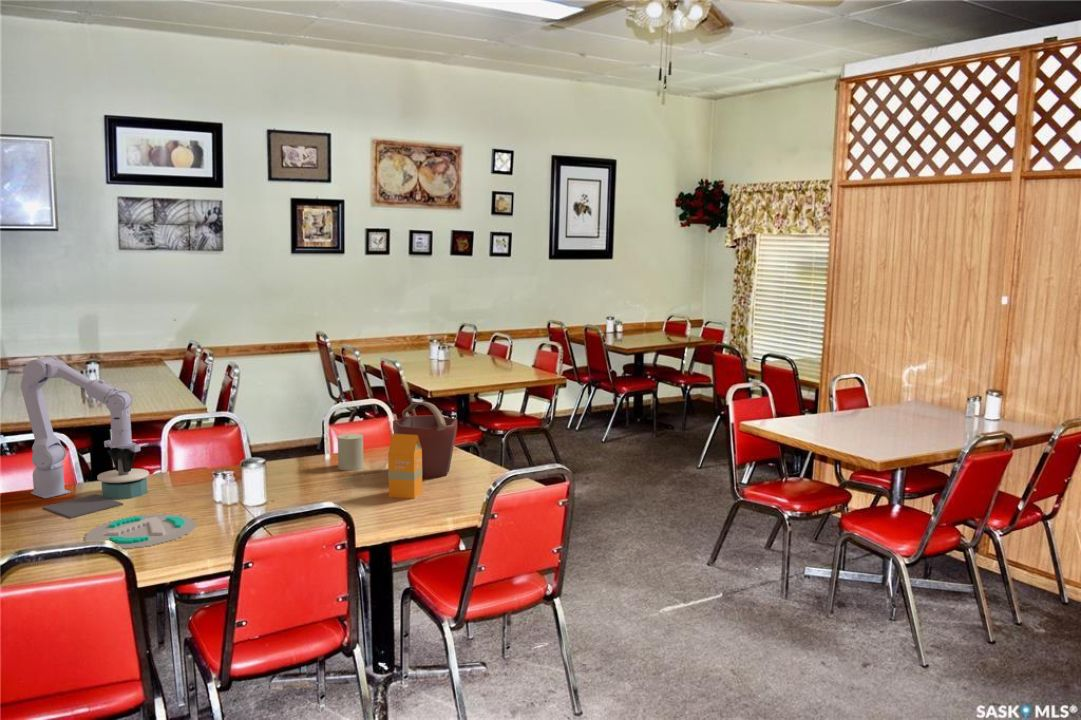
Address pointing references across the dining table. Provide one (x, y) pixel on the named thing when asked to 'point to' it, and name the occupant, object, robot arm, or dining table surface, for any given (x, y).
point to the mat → (82, 506)
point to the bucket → (430, 438)
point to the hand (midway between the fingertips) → (123, 471)
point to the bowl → (124, 489)
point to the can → (350, 451)
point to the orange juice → (405, 466)
